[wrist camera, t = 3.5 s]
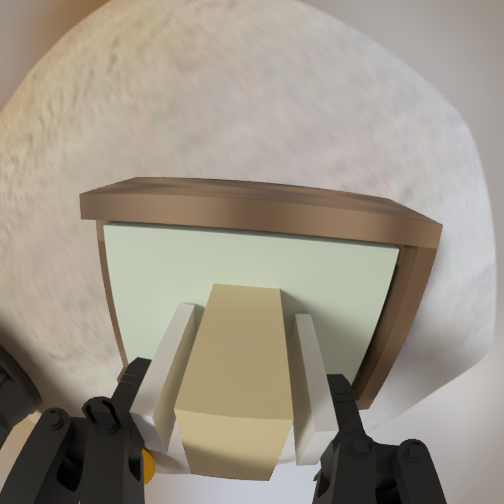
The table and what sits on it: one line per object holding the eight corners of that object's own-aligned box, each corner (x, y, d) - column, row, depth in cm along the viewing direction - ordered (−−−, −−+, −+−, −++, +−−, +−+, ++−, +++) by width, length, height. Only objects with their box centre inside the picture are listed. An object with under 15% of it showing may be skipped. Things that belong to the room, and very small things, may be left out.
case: (149, 335, 21) (121, 390, 15) (136, 177, 16) (79, 194, 10) (348, 351, 21) (368, 409, 15) (388, 198, 16) (443, 225, 10)
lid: (135, 365, 16) (91, 459, 8) (111, 220, 12) (-3, 295, 5) (345, 383, 16) (372, 483, 8) (392, 243, 12) (492, 337, 5)
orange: (118, 449, 32) (106, 483, 25) (105, 428, 29) (89, 465, 22) (162, 462, 32) (153, 498, 25) (154, 443, 29) (142, 485, 22)
